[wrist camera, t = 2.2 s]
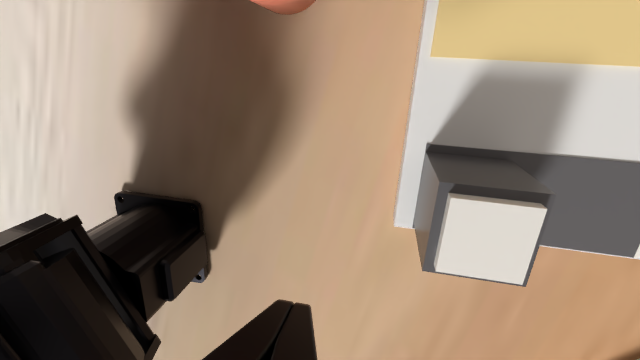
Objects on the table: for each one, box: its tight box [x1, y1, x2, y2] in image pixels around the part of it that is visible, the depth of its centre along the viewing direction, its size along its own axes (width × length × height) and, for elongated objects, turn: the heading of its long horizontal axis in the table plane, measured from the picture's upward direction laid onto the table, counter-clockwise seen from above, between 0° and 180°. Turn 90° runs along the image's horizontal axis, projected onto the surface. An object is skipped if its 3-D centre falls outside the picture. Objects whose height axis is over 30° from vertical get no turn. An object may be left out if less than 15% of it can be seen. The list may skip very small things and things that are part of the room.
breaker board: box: [393, 0, 640, 259], centre depth 15 cm, size 14×16×2 cm
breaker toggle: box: [414, 152, 556, 287], centre depth 14 cm, size 4×4×5 cm
